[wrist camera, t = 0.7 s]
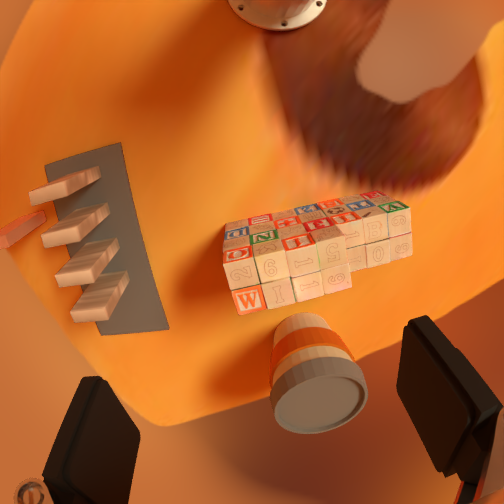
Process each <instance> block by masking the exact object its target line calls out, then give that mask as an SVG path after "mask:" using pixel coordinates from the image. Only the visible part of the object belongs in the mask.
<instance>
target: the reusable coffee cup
mask: <svg viewBox="0 0 504 504" xmlns="http://www.w3.org/2000/svg"><path fill="white" fill-rule="evenodd" d="M270 386H271V392H270V401H271V405H272V408H273V412H274V415H275V419H276V420H277V422H278V424H279V425H280V426H282V427H283V428H285V429H286V430H288V431H291V432H295V433H301V434H313V433H321V432H325V431H329V430H332V429H335V428H337V427H339V426H342V425H344V424H345V423H347V422H349V421H350V420H351V419H353V418H354V417H355V416H356V415H357V414H358V413H359V412H360V411H361V410H362V409H363V407H364V406H365V404H366V401H367V398H368V390H367V386H366V382H365V379H364V375H363V372H362V371H361V369H360V367H359V366H358V365H357V364H356V363H355V360H354V357H353V356H352V354H351V352H350V351H349V350H348V348H347V347H346V345H345V344H344V342H343V341H342V339H341V338H340V337H339V336H338V335H337V334H336V333H335V332H333V331H332V330H331V328H330V327H329V325H328V324H327V323H326V321H325V320H324V319H323V318H322V317H320V316H319V315H316V314H313V313H299V314H295V315H292V316H290V317H288V318H286V319H285V320H284V321H282V322H281V323H280V324H279V325H278V327H277V329H276V330H275V333H274V347H273V351H272V354H271V360H270Z"/></svg>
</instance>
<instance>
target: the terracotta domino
mask: <svg viewBox="0 0 504 504" xmlns="http://www.w3.org/2000/svg"><path fill="white" fill-rule="evenodd" d="M45 221H46V217H45V214H44V210H43V211H40V212H36V213H33V214H29V215H26V216H22V217H20V218H18V219H16V220H15V221H13V222H11V223H10V224H8V225H7V226H5V227H4V228H2V229H0V249H4V248H8V247H10V246H12V245H13V244H14V243H16V242H17V241H18V240H20V239H21V238H23V237H24V236H25V235H27V234H28V233H29V232H31V231H32V230H34V229H35V228H37V227H38V226H39V225H41V224H42V223H44V222H45Z"/></svg>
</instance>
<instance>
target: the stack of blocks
mask: <svg viewBox="0 0 504 504" xmlns="http://www.w3.org/2000/svg"><path fill="white" fill-rule="evenodd" d="M408 256H412V233H411V215H410V207H408V206H407V205H405V204H403V203H401V202H400V201H396V200H395V199H393V198H391V197H390V196H388V195H386V194H384V193H382V192H381V191H379V190H378V191H373V192H369V193H364V194H360V195H358V194H356V195H352V196H347V197H342V198H339V199H332V200H328V201H323V202H318V203H316V204H312V205H307V206H303V207H298V208H295V209H290V210H286V211H281V212H277V213H273V214H266V215H261V216H257V217H253V218H248V219H243V220H239V221H235V222H230V223H227V224H225V236H224V242H223V267H224V270H225V274H226V277H227V280H228V284H229V287H230V290H231V292H232V296H233V300H234V303H235V306H236V309H237V312H238V315H243V314H247V313H252V312H256V311H260V310H265V309H273V308H278V307H281V306H286V305H289V304H293V303H295V302H296V301H297V302H301V301H305V300H309V299H313V298H316V297H320V296H323V295H324V294H330V293H333V292H337V291H340V290H344V289H347V288H351V287H352V283H351V275H350V272H354V271H358V270H361V269H365V268H371V267H375V266H379V265H382V264H386V263H389V262H391V261H394V260H398V259H401V258H405V257H408Z"/></svg>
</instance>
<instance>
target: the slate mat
mask: <svg viewBox="0 0 504 504" xmlns="http://www.w3.org/2000/svg"><path fill="white" fill-rule="evenodd" d="M96 166H99V168H100V172H101V178H99V179H98V180H96V181H94V182H92V183H90V184H88V185H86V186H84V187H83V188H81V189H79V190H77V191H75V192H74V193H72V194H70V195H68V196H66V197H63V198H59V199H55V200H53V202H54V206H55V209H56V213H57V216H58V220H59V221H61V220H62V219H63V218H65V217H66V216H68V215H69V214H71V213H72V212H73V211H75V210H76V209H80V208H84V207H88V206H93V205H97V204H101V203H106V202H108V206H109V210H110V214H109V215H108V216H107V217H106V218H105V219H104V220H103V221H101V222H100V223H99V224H98V225H97V226H96V227H95V228H94V229H93V230H91V231H90V232H89V233H88V234H87V235H86V236H85V237H84V238H83V239H82V240H81V241H79V242H74V243H69V244H66V246H67V249H68V252H69V255H70V258H72V257H73V256H74V255H75V254H76V253H77V252H78V251H79V250H80V249H81V248H82V247H83V246H84V245H85V244H86V243H89V242H94V241H99V240H105V239H110V238H115V237H117V239H118V243H119V246H120V249H119V250H118V251H117V253H116V254H115V255H114V256H113V258H112V259H111V260H110V262H109V263H108V264H107V266H106V267H105V268H104V270H103V271H102V272H101V274H104V273H111V272H118V271H124V270H127V273H128V276H129V279H130V281H129V283H128V284H127V286H126V288H125V290H124V292H123V294H122V295H121V297H120V299H119V301H118V303H117V305H116V307H115V308H114V310H113V312H112V314H111V316H110V318H109V320H104V321H95V322H96V324H97V327H98V329H99V331H100V333H101V336H102V335H116V334H128V333H140V332H150V331H161V330H169V325H168V322H167V319H166V316H165V313H164V310H163V307H162V303H161V300H160V297H159V294H158V291H157V287H156V284H155V281H154V277H153V274H152V270H151V267H150V264H149V260H148V256H147V253H146V249H145V245H144V242H143V238H142V234H141V230H140V226H139V223H138V219H137V215H136V210H135V206H134V202H133V198H132V193H131V189H130V185H129V180H128V176H127V171H126V166H125V161H124V156H123V151H122V146H121V143H117V144H113V145H109V146H106V147H102V148H99V149H95V150H92V151H88V152H85V153H82V154H78V155H75V156H72V157H69V158H66V159H63V160H60V161H56V162H54V163H51V164H48V165H45V169H46V174H47V178H48V182H49V183H50V182H52V181H54V180H56V179H59V178H61V177H63V176H65V175H68V174H71V173H74V172H78V171H81V170H85V169H88V168H92V167H96ZM88 286H89V284H83V285H81V288H82V291H83V293H84V291H85V290H86V288H87V287H88Z"/></svg>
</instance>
